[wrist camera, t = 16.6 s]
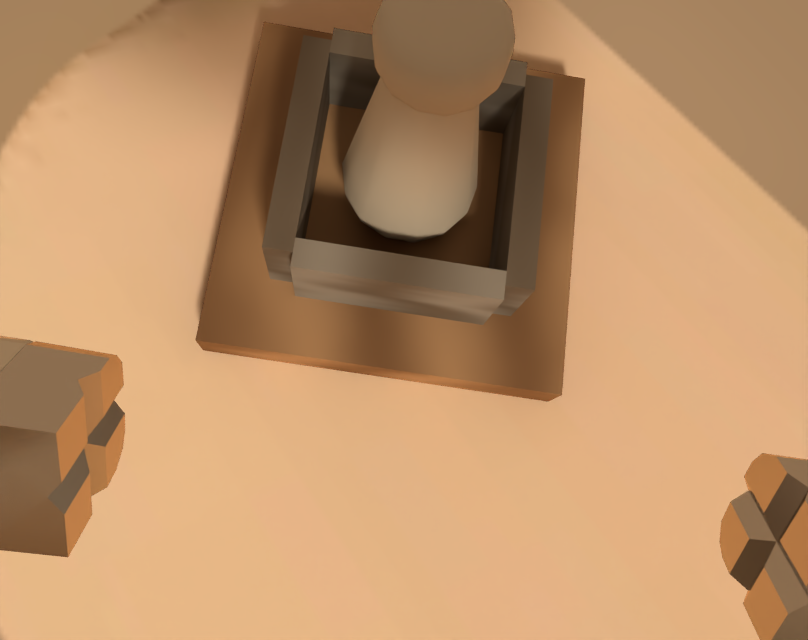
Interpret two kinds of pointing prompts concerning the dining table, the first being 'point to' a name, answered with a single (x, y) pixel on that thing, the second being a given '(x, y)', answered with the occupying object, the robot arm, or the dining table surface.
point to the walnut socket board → (390, 258)
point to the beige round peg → (426, 113)
